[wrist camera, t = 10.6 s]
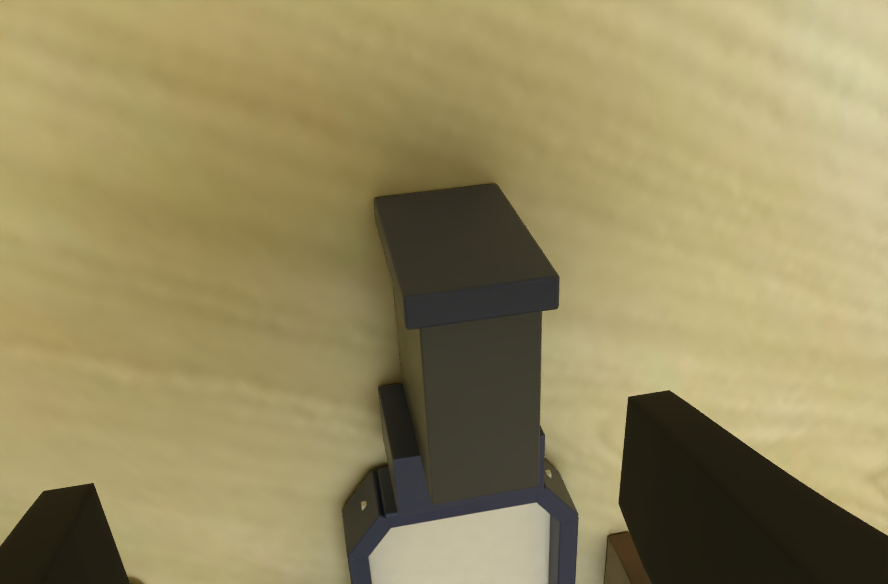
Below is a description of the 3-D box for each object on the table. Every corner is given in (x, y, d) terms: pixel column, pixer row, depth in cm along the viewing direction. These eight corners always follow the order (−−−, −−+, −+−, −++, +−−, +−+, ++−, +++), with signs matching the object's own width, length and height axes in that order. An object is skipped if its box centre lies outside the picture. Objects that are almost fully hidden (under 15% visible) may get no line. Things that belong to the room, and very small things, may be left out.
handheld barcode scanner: (296, 205, 20) (304, 310, 15) (568, 173, 21) (650, 263, 16) (362, 645, 28) (380, 797, 24) (554, 608, 29) (606, 746, 25)
